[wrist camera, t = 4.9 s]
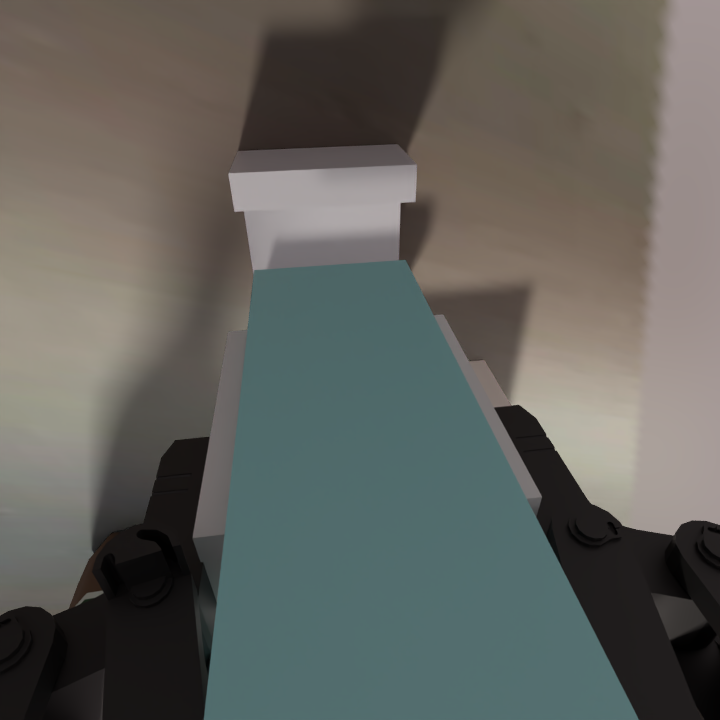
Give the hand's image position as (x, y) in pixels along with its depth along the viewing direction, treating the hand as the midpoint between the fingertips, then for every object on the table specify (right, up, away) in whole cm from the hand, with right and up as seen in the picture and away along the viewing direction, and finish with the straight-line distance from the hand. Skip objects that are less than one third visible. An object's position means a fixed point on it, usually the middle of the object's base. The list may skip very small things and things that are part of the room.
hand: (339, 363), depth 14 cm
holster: (-1, +6, +10) cm, 11 cm away
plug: (0, +1, +2) cm, 2 cm away
